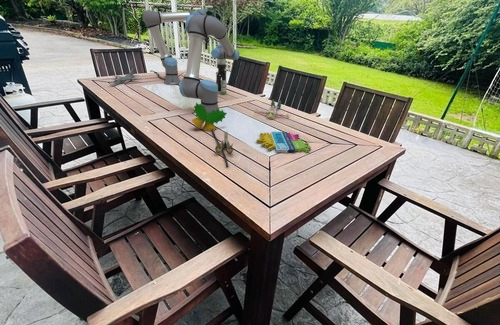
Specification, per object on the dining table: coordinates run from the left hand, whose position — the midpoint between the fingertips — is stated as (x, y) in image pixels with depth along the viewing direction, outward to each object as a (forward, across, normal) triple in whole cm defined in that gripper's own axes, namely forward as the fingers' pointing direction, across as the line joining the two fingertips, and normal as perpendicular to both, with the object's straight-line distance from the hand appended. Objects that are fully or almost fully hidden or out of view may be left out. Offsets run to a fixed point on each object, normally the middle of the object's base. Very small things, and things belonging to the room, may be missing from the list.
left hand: (202, 50), depth 272 cm
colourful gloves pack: (+30, -105, -135) cm, 174 cm away
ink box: (+30, -37, -48) cm, 67 cm away
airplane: (+30, -64, +46) cm, 84 cm away
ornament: (+30, -112, -88) cm, 146 cm away
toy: (+30, -59, -109) cm, 128 cm away
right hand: (+27, -37, -48) cm, 66 cm away
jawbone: (+30, -133, -113) cm, 177 cm away
